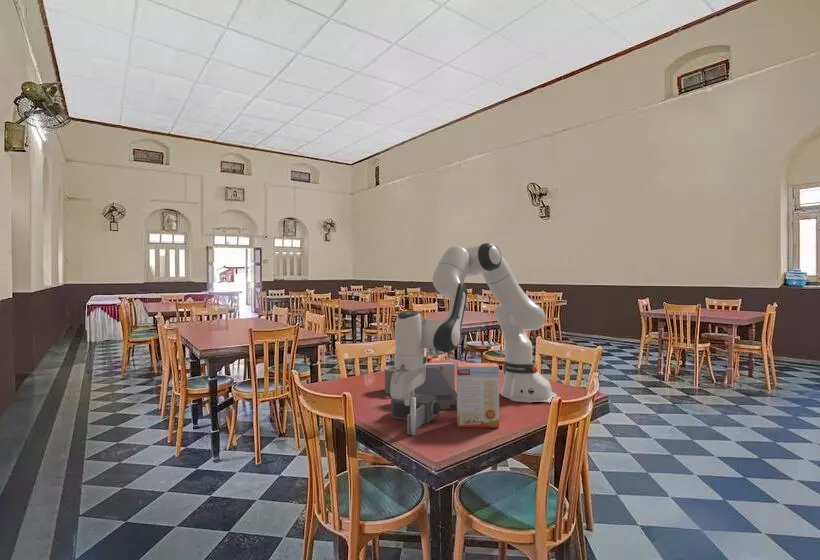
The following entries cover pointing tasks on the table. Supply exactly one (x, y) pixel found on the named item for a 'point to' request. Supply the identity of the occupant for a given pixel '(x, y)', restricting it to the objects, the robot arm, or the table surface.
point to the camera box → (429, 407)
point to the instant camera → (440, 384)
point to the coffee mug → (388, 377)
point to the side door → (414, 417)
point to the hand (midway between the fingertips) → (408, 404)
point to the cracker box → (478, 395)
